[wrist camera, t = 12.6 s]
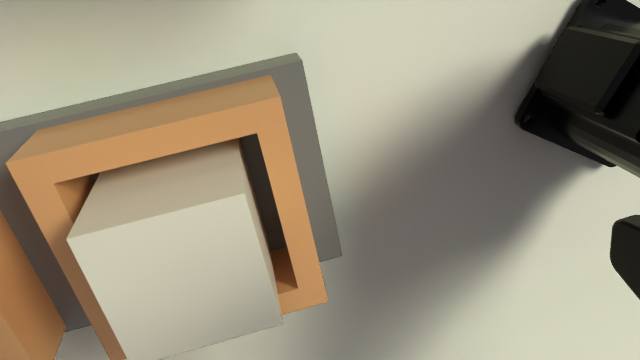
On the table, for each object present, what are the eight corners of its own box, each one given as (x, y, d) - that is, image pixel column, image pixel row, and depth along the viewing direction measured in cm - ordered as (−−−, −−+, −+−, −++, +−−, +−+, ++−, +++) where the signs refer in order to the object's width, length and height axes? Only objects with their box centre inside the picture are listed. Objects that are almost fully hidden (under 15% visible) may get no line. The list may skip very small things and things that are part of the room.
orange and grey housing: (296, 52, 19) (334, 101, 13) (335, 238, 24) (378, 342, 17) (-271, 185, 18) (-535, 314, 11) (-123, 362, 22) (-258, 528, 15)
